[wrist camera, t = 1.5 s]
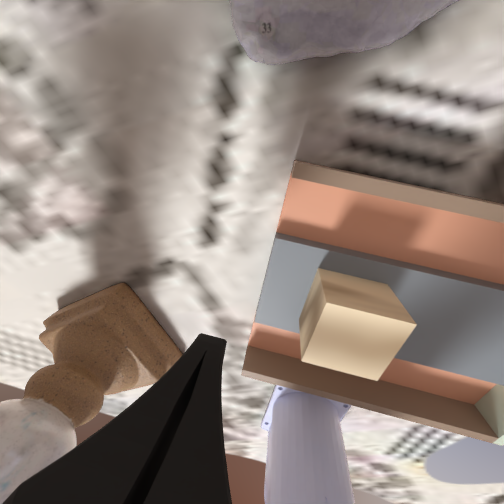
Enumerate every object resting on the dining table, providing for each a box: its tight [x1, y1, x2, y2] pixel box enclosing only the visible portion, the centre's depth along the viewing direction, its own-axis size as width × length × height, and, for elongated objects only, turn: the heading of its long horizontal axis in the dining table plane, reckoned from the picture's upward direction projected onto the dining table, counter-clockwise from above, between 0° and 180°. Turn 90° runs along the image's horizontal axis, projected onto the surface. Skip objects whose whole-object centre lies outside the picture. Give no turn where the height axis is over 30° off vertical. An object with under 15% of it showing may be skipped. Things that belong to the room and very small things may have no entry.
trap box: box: [241, 160, 504, 446], centre depth 17 cm, size 18×23×3 cm
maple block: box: [299, 268, 417, 381], centre depth 15 cm, size 5×5×4 cm
